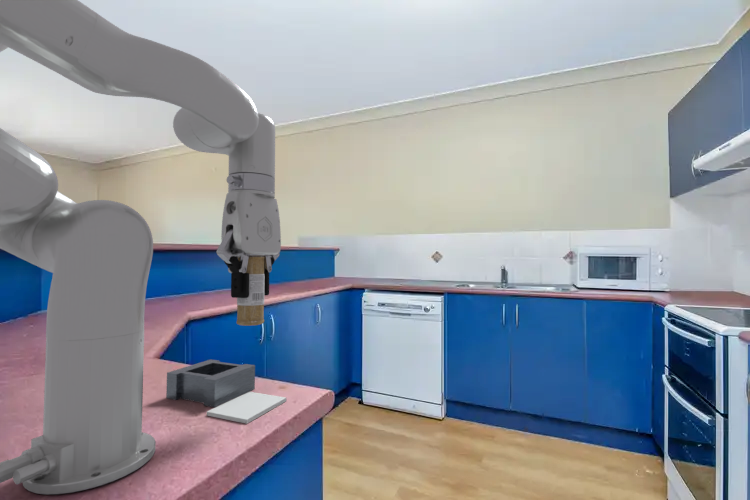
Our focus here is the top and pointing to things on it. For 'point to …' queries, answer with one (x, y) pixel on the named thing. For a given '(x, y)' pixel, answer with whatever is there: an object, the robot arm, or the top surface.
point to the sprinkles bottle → (253, 293)
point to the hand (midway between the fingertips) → (250, 295)
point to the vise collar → (210, 382)
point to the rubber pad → (246, 407)
